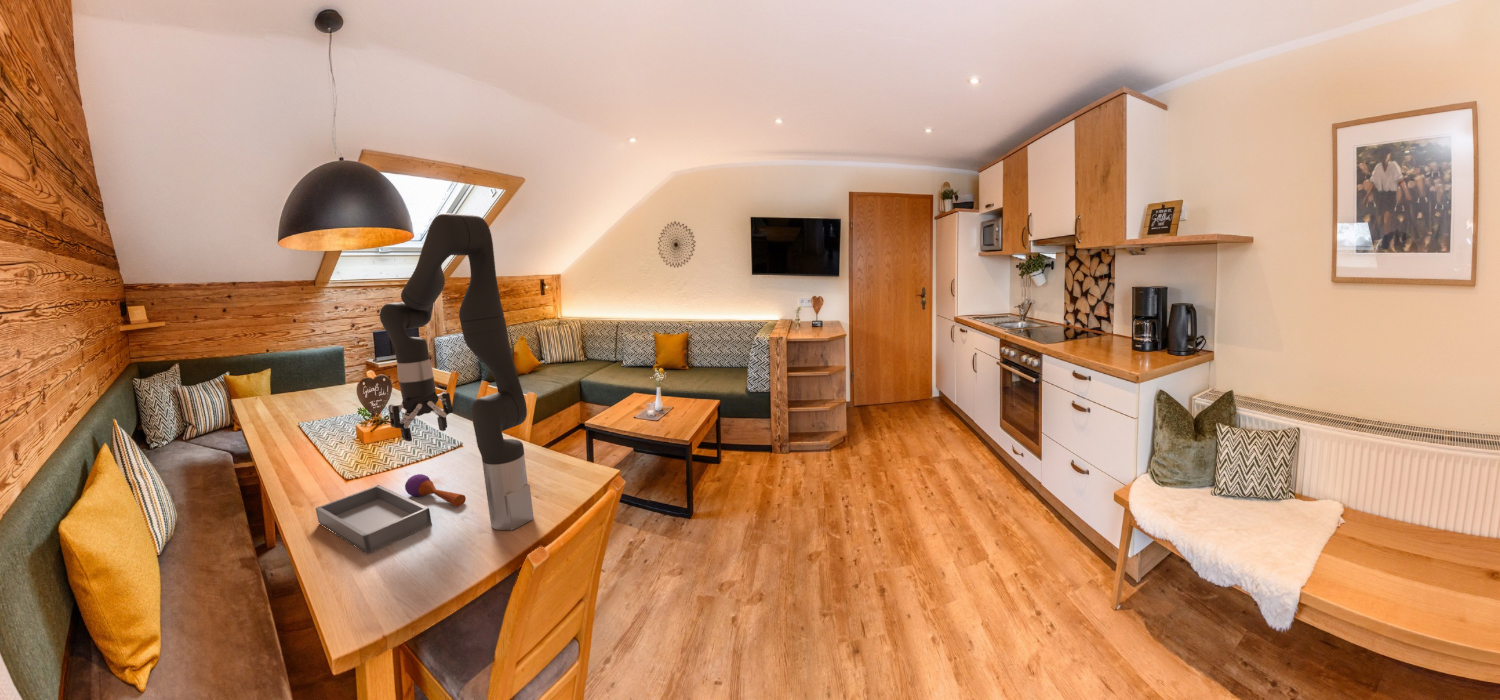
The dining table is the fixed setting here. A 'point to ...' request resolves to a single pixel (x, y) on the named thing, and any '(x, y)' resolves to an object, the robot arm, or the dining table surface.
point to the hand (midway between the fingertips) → (426, 435)
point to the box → (374, 518)
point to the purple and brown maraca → (431, 490)
